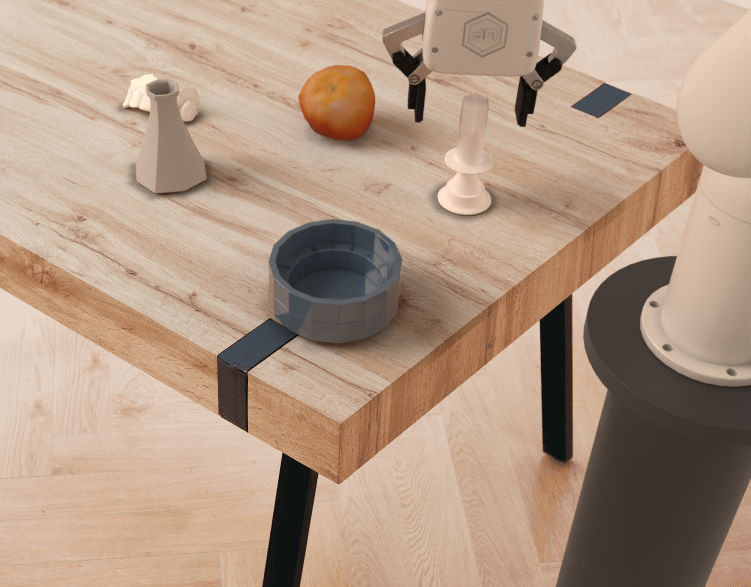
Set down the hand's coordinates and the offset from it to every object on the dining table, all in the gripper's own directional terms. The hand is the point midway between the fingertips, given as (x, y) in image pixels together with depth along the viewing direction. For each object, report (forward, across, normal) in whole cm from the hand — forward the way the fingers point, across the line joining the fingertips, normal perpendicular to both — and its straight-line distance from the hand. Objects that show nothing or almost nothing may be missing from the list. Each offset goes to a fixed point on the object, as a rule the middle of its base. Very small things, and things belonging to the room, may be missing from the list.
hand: (469, 116), depth 101 cm
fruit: (+10, -12, +11) cm, 19 cm away
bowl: (+9, -12, -16) cm, 22 cm away
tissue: (+10, -31, +14) cm, 36 cm away
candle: (+10, +1, 0) cm, 10 cm away
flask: (+10, -29, +3) cm, 31 cm away
